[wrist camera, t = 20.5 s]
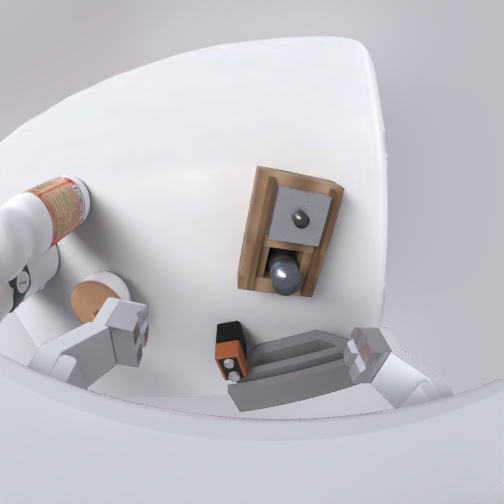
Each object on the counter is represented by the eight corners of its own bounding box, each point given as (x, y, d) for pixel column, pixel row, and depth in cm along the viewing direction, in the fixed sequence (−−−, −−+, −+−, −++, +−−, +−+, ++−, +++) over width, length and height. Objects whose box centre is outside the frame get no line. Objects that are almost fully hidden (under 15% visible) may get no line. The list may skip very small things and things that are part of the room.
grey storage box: (347, 320, 53) (365, 358, 43) (348, 345, 56) (363, 382, 47) (228, 350, 55) (227, 391, 45) (239, 372, 58) (240, 412, 48)
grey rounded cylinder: (263, 260, 46) (269, 294, 37) (268, 238, 44) (276, 268, 35) (286, 263, 47) (297, 297, 38) (292, 241, 45) (305, 271, 36)
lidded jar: (141, 312, 50) (127, 345, 41) (94, 306, 49) (75, 336, 40) (134, 263, 45) (115, 292, 37) (83, 259, 44) (59, 285, 36)
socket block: (237, 272, 47) (237, 291, 42) (257, 165, 39) (260, 171, 34) (305, 281, 48) (312, 299, 43) (333, 181, 41) (346, 189, 36)
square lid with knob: (266, 232, 39) (269, 242, 35) (276, 183, 36) (280, 189, 32) (313, 239, 39) (320, 250, 36) (326, 193, 36) (334, 199, 33)
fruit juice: (100, 194, 40) (-21, 281, 14) (78, 235, 42) (-20, 335, 17) (63, 163, 37) (-66, 220, 11) (44, 206, 39) (-64, 282, 14)
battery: (225, 347, 54) (224, 385, 45) (216, 323, 51) (213, 361, 42) (246, 344, 54) (248, 382, 45) (238, 319, 51) (239, 357, 42)
